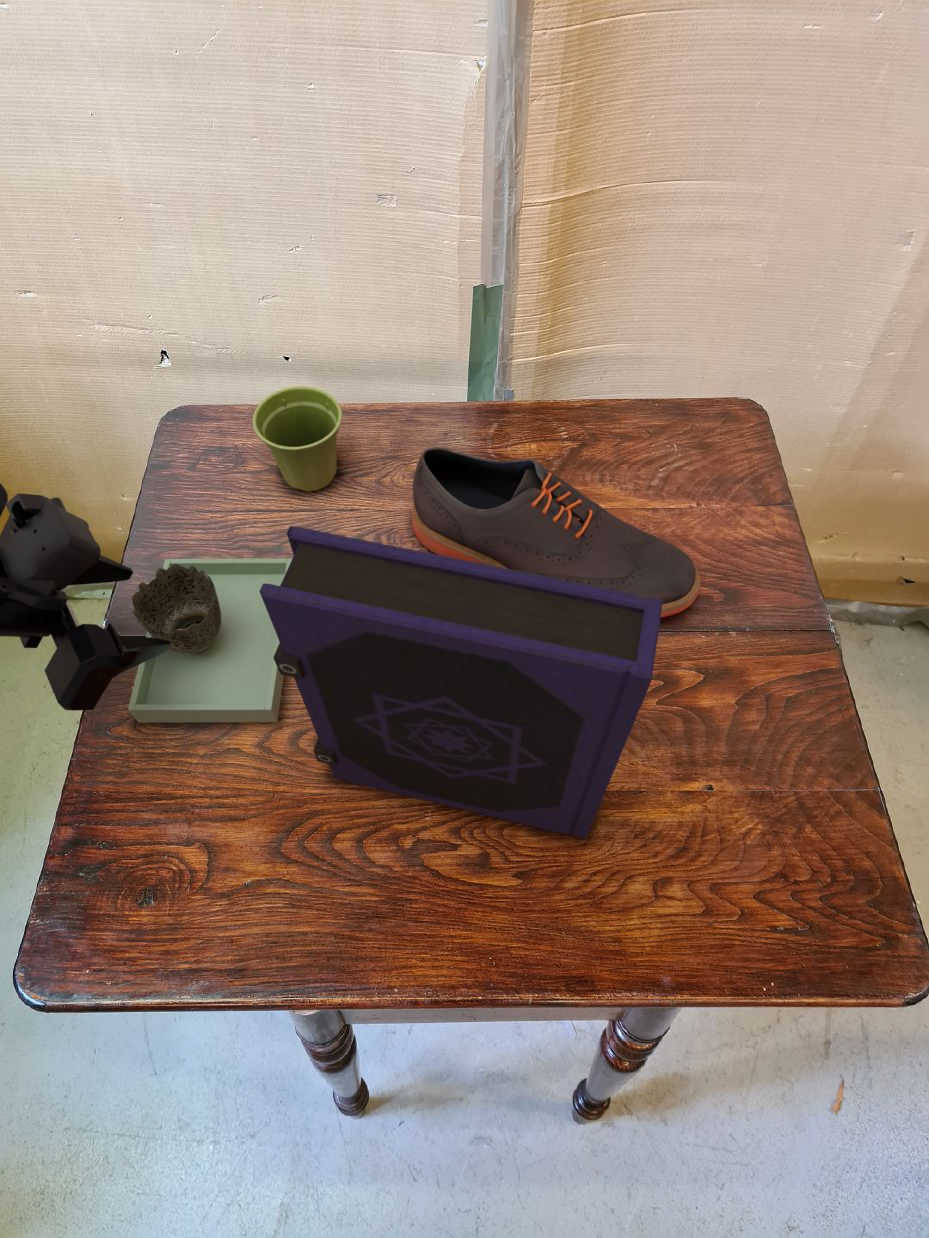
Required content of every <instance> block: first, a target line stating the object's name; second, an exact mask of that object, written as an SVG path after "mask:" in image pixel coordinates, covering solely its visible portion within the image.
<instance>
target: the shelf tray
mask: <svg viewBox="0 0 929 1238" xmlns="http://www.w3.org/2000/svg"><path fill="white" fill-rule="evenodd" d="M292 559H293V557H288V558H285V557H284V558H278V557H277V558H276V557H275V558H274V557H273V558H262V557H261V558H165V559H164V562H163V566H162V568H164V569H165V570H166V569H168V568H169V567H170V566H171V565H173V564H180V565H182V566H184V567H185V568H187V569H189V567H191V566H195V568H196V570H197V571H198V573H199V572H200V571H201V570H204V571H205V573H206V574H207V575H208V576H210V578H211V580H212V582H213V584H214V586H215V590H216V594H217V597H218V601H219V605H220V609H221V627H220V630H219V633H218V635H217V636H216V638H215V640H214V643H213V644H212V646H211V647H210V648H209V649H208V650H207V651H205V652H203V653H200V654H190V653H179V652H175V651H172V650H169V649H168V650H167V651H166V652H165V653H163V654H160V655H158V656H156V657H154V658H152V659H150V660H148V661H146V662H143V663H141V664H139V665H138V667H137V671H136V676H135V679H134V684H133V686H132V691H131V695H130V699H129V703H128V707H127V711H128V712H129V713H130V715H131V716H132V717H133V718H134V720H136V722H137V723H139V724H142V723H143V724H147V723H149V724H151V723H153V724H154V723H158V724H159V723H160V724H161V723H162V724H163V723H165V724H166V723H168V724H169V723H171V724H172V723H176V724H178V723H179V724H180V723H181V724H182V723H185V724H186V723H187V724H189V723H191V724H192V723H278V721H279V714H280V706H281V699H282V691H283V686H284V685H283V684H284V677H285V675H281V674H280V672H279V670H278V667H277V665H276V663H275V660H274V658H273V657H274V655H275V652H276V650H277V648H278V645H279V643H280V642H279V639H278V637H277V634H276V632H275V629H274V627H273V624H272V622H271V619H270V617H269V614H268V612H267V609H266V607H265V604H264V602H263V599H262V597H261V594H260V592H259V591H260V589H261V587H262V585H263V584H267V583H268V584H272V585H277V586H280V585H281V583H282V581H283V578H284V576H285V574H286V572H287V570H288V567H289V565H290V563H291V561H292ZM145 637H147V638H154V637H152V635H151V634H150V633H149V632H148V631H147V630H146V634H145Z"/></svg>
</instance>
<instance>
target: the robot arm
mask: <svg viewBox="0 0 929 1238" xmlns="http://www.w3.org/2000/svg"><path fill="white" fill-rule="evenodd" d="M5 509H7V512H8V513H9V516H8V518H7V519H6V522H5V524H4V525H3V528H2V530H1V532H0V637H6V638H7V637H10V638H11V637H12V638H13V637H14V638H19V639H20V642H21V644H22V647H23V648H24V649H38V647H39V645H40V644H41V642H42V640H43V638H48V637H50V636H51V638H52V640H53V642H54V645H55V651H54V653H53V654H52V656H51V657H50V660H49V662H48V663H47V664H46V667H45V669H44V673H45V675H46V678H47V681H48V683H49V686H50V687H51V690H52V692H53V696H54V698H55V700H56V702H57V704H58V705H59V706H60V707H61V708H62V709H63V710H64V711H72V712H73V711H74V712H77V711H93V710H94V709H95V707H96V706H97V705H98V703H99V701H100V700H101V698H102V696H103V695H104V693H105V691H106V690H107V688H108V687H109V686H110V683H111V682H112V681H113V679H114V678H115V677H118V676H119V675H121V674H123V673H125V672H127V671H129V670H130V669H131V670H132V669H133V668H135V667H137V666H139V664H141V663H143V662H146V661H148V660H150V659H152V658H154V657H156V656H158V655H160V654H163V653H165V652H166V651H167V650H168V648H169V647H170V645H171V644H170V642H169V641H168V640H163V639H158V638H147V637H146V636H133V635H121V634H120V633H119V632H118V631H117V630H116V628H115V626H113V624H112V623H108V624H107V625H106V627H105V628H103V627H102V626H100V625H98V624H97V623H94V624H93V623H81V624H80V623H79V620H78V618H77V617H76V615H75V612H74V610H73V608H72V606H71V603H70V601H69V598H68V595H67V594H66V591H64V589H66V588H67V587H69V586H81V585H82V586H83V585H95V584H108V583H109V584H111V583H118V582H124V581H129V580H130V579H131V577H132V576H133V574H134V571H133V569H132V568H131V567H129V566H126V565H124V564H122V563H120V562H118V561H116V560H114V559H111V558H109V557H107V556H105V555H102V554H101V552H102V551H101V547H100V545H99V543H98V542H97V541H96V540H95V538H94V536H93V533H92V531H91V530H90V525H89V523H88V521H86V520H85V519H83V518H81V517H79V516H78V515H75V514H73V513H72V512H69V511H68V510H67V508H66V506H65V505H64V502H63V501H62V499H61V498H60V497H52V498H49V497H47V496H44V495H41V494H33V493H32V494H30V493H19V492H18V493H16V494H15V495H14V496H13V497H12V498H11V499H10V500H9V495H8V492H7V489H6V488H5V487H4V485H3V484H2V483H1V482H0V518H1V516H2V514H3V512H4V510H5Z"/></svg>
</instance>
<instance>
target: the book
mask: <svg viewBox="0 0 929 1238" xmlns="http://www.w3.org/2000/svg"><path fill="white" fill-rule="evenodd" d="M286 531H287V532H286V536H287V539H288V542H289V545H290V548H291V551H292V555H293V556H292V558H293V559H292V561H291V563H290V565H289V567H288V570H287V572H286V574H285V576H284V578H283V581H282V583H281V585H280V586H277V585H272V584H268V583H267V584H263V585H262V587H261V589H260V591H259V592H260V594H261V597H262V599H263V602H264V604H265V607H266V609H267V612H268V614H269V617H270V619H271V622H272V624H273V627H274V629H275V632H276V634H277V637H278V639H279V642H280V643H279V645H278V648H277V650H276V652H275V655H274V657H273V658H274V660H275V663H276V665H277V667H278V670H279V672H280V674H281V675H284V676H286V677H290V678H293V679H294V681H295V684H296V686H297V689H298V691H299V694H300V696H301V700H302V702H303V704H304V706H305V709H306V711H307V714H308V717H309V718H310V721H311V723H312V726H313V729H314V732H315V733H316V736H317V740H316V742H315V745H314V747H313V750H312V751H313V753H314V756H315V758H316V760H317V762H318V763H323V764H325V765H326V764H327V765H328V766H329V768H330V772H331V773H332V776H333V778H334V779H336V780H340V781H343V782H348V783H351V784H356V785H360V786H364V787H368V788H373V789H376V790H381V791H385V792H389V793H392V794H397V795H401V796H405V797H409V798H414V799H416V800H417V799H418V800H421V801H426V802H430V803H434V804H437V805H442V806H446V807H450V808H454V809H458V810H463V811H466V812H470V813H475V814H480V815H483V816H488V817H491V818H495V819H499V820H503V821H508V822H512V823H516V824H521V825H523V826H528V827H533V828H537V829H541V830H544V831H548V832H553V833H557V834H561V835H564V836H568V835H570V834H572V836H573V837H574V838H578V839H581V840H582V839H583V840H587V838H588V835H589V833H590V830H591V828H592V825H593V823H594V820H595V819H596V815H597V813H598V811H599V808H600V806H601V803H602V801H603V799H604V796H605V793H606V791H607V790H608V786H609V785H610V781H611V779H612V777H613V775H614V772H615V770H616V767H617V765H618V762H619V760H620V758H621V755H622V753H623V750H624V748H625V745H626V743H627V741H628V738H629V735H630V733H631V731H632V729H633V726H634V723H635V721H636V719H637V716H638V714H639V711H640V709H641V707H642V705H643V703H644V701H645V700H644V699H645V697H646V695H647V692H648V690H649V687H650V685H651V683H652V680H653V675H654V666H655V661H656V660H655V659H656V653H657V647H658V646H657V645H658V639H659V633H660V625H661V619H662V617H661V612H662V605H663V600H661V599H656V598H651V597H645V598H642V599H640V598H639V597H638V596H637V595H635V594H631V593H626V592H621V591H616V590H611V589H606V588H601V587H596V586H591V585H586V584H581V583H576V582H571V581H566V580H561V579H556V578H551V577H546V576H541V575H536V574H531V573H526V572H521V571H516V570H511V569H506V568H501V567H496V566H491V565H486V564H481V563H476V562H471V561H466V560H461V559H456V558H451V557H446V556H441V555H437V554H435V553H430V552H425V551H420V550H415V549H411V548H405V547H400V546H395V545H392V544H391V545H390V544H385V543H380V542H377V541H376V542H375V541H371V540H365V539H359V538H355V537H349V536H345V535H340V534H336V533H335V534H334V533H330V532H324V531H320V530H315V529H311V528H310V529H309V528H306V527H300V526H295V525H290V526H289V528H288V529H287V530H286Z"/></svg>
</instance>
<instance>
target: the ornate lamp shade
mask: <svg viewBox="0 0 929 1238" xmlns="http://www.w3.org/2000/svg"><path fill="white" fill-rule="evenodd" d="M131 601H132V605H133V608H134V609H133V610H132V611H131V612H132V614H133V615H134V617H135V618H136V619H137V620H136V621H137V622H138V624H139V625H140V626H141V627H143V629H144V630H145V631H146V632H147V631H148V632H149V633H150V634H151V635H152V637H154V638H158V639H163V640H168V641H169V642H170V644H171V645H170V647H169V648H168V649H169V650H172V651H175V652H179V653H190V654H200V653H203V652H205V651H207V650H208V649H209V648H210V647H211V646H212V644H213V643H214V640H215V638H216V636H217V635H218V633H219V630H220V627H221V609H220V605H219V601H218V597H217V594H216V590H215V586H214V584H213V582H212V580H211V578H210V576H208V575H207V574H206V573H205V571H204V570H201V571H200V572H199V573H198V571H197V570H196V568H195V566H191V567H189V569H187V568H185V567H184V566H182V565H180V564H173V565H171V566H170V567H169V568H168V569H166V570H165V569H164V568H163V567H159V568H156V570H155V579H150V582H149V583H148V584H147V583H146V581H141V582H140V583H139V584H138V591H136V592H135V593H133V594H132V596H131Z"/></svg>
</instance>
